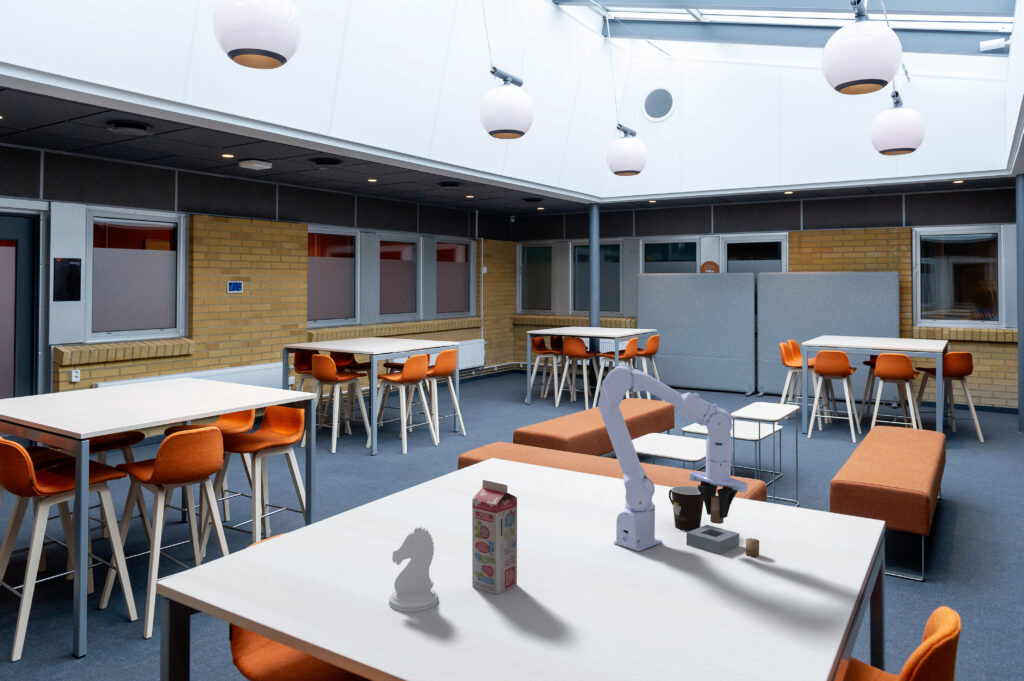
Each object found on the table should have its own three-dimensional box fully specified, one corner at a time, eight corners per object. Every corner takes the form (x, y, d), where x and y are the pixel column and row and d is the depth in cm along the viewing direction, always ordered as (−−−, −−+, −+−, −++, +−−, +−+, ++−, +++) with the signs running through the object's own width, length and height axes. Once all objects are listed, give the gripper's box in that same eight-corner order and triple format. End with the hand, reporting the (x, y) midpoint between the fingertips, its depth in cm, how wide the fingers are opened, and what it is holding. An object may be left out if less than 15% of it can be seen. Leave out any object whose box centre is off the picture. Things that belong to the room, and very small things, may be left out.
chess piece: (392, 591, 146) (391, 519, 146) (440, 591, 147) (439, 519, 146) (385, 612, 137) (384, 535, 136) (436, 611, 137) (436, 535, 136)
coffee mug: (708, 532, 183) (708, 494, 183) (674, 532, 184) (675, 494, 183) (697, 519, 195) (697, 483, 194) (665, 518, 195) (666, 482, 195)
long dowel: (719, 524, 168) (720, 499, 168) (708, 521, 171) (708, 497, 170) (725, 521, 171) (726, 497, 170) (714, 518, 173) (714, 494, 172)
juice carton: (492, 577, 154) (492, 476, 153) (516, 584, 150) (517, 481, 149) (472, 586, 149) (472, 482, 148) (496, 594, 145) (496, 488, 143)
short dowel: (754, 558, 166) (755, 543, 165) (743, 554, 168) (743, 540, 168) (761, 555, 168) (761, 540, 167) (749, 551, 170) (750, 537, 170)
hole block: (718, 554, 168) (719, 541, 168) (686, 544, 175) (686, 532, 174) (738, 545, 174) (739, 533, 174) (706, 536, 181) (707, 524, 181)
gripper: (754, 462, 167) (753, 519, 168) (701, 452, 178) (700, 505, 179) (738, 466, 162) (737, 525, 163) (685, 456, 173) (684, 511, 174)
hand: (717, 515), depth 170 cm, fingers closed on long dowel, 3 cm apart
